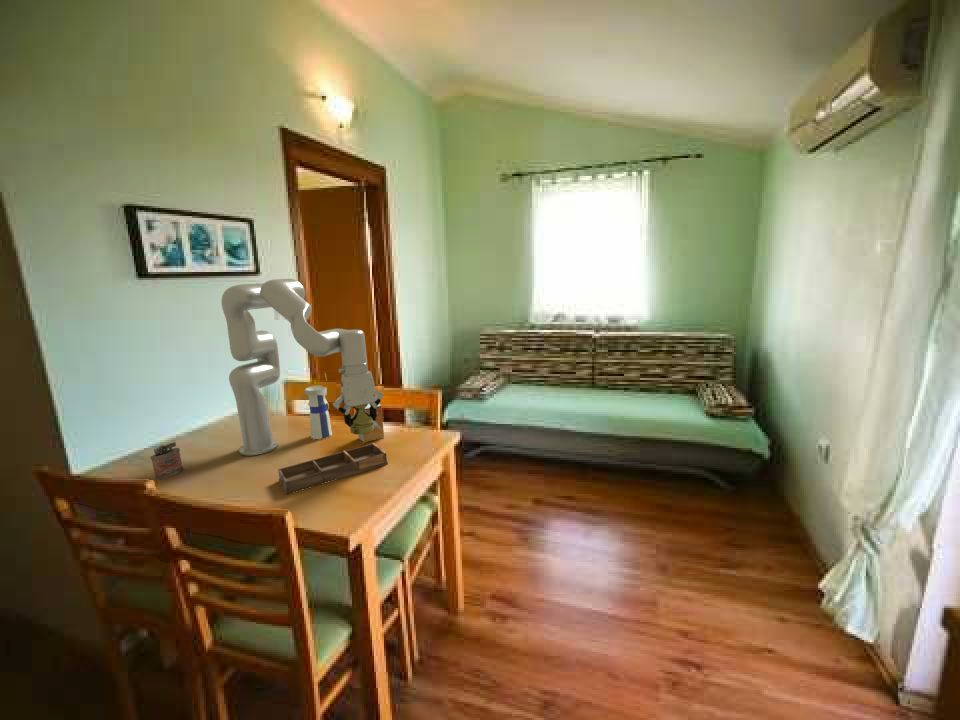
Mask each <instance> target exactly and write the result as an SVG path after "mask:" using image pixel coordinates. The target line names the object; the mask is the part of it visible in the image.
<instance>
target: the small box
mask: <svg viewBox="0 0 960 720" xmlns="http://www.w3.org/2000/svg"><path fill="white" fill-rule="evenodd" d="M370 407H371V405H370V404H368V405H367V406H366V407H365V409H364V410H365V411H366V412H367V413H368V414H370V409H369V408H370ZM382 408H383V407H382V405H381V404H380V403H379V404H378V406H377V408H376V413H377V417H376V421H373V420H372V422H373V423H374V424H373V426H374V429H373V431H371V432H369V433H366V434H357V436H358V439H359V440H360V439H361V440H362V441H363V442H362V441H361V440H360V441H361V442H362V443H364V444H365V443H369V442H371V441H372V440H373V441H377V440H381V438H382V439H384V438H385V432H384V422H383V421H384V420H383V419H384V418H383V409H382ZM376 439H377V440H376ZM368 441H369V442H368Z"/></svg>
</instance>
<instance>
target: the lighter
mask: <svg viewBox="0 0 960 720" xmlns="http://www.w3.org/2000/svg"><path fill="white" fill-rule="evenodd" d="M180 451H181V450H180V448H179V447H177V444H176V442H170V443H167V444H165V445H164V444H160V445H159V446H158V447H156V448H153V452H154V454H153V455H151V456H150V460H151V462H152V467H153V472H154V480H162V479H166V478H168V477H172V476H174V475H176V474H178V473H180V472H183V471H184V466H183V463H182V458H181V453H180Z"/></svg>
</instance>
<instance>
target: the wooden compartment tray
mask: <svg viewBox="0 0 960 720" xmlns="http://www.w3.org/2000/svg"><path fill="white" fill-rule="evenodd" d="M388 464H389V461H388V460H387V452H386V451H385V450H384V449H382V448H381V447H380V446H379V445H378V444H376V443H374V442H371V443H369V444H366V445H363V446H358V447H355V448H352V449H347V450H345V449H344V450H342V451H340V452H336V453H333V454H328V455H325V456H322V457H317V458H315V459H310V460H307V461H303V462H299V463H295V464H293V465H289V466H284V467H282V468H278V469H277V471H278V482H279V483H280V485H282V486H281V487H282V489H283V491H284V490H285V491H284V492H286V493H285V494H286V495H287V494H289V495H291V494H290V493H292V494H294V493H293V492H295V493H297V492H296V491H298V492H300V491H299V490H302V489H305V490H307V489H306V488H308V489H310V488H309V487H311V488H314V487H313V486H315V487H317V486H316V485H318V486H320V485H319V484H321V485H323V484H322V483H325V482H328V481H331V482H333V481H332V480H334V481H336V480H335V479H338V480H339V478H341V479H343V478H342V477H344V478H347V477H350V475H351V476H353V474H354V475H356V473H357V474H360V473H364V472H367V471H369V470H373V469H376V468H379V467H382V466H386V465H388ZM366 470H367V471H366ZM363 471H364V472H363ZM359 472H360V473H359ZM346 476H347V477H346ZM328 483H329V482H328ZM325 484H326V483H325ZM302 491H303V490H302Z"/></svg>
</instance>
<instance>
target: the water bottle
mask: <svg viewBox="0 0 960 720" xmlns="http://www.w3.org/2000/svg"><path fill="white" fill-rule="evenodd" d="M324 377H325V381H326V382H327V381H328V378H327V373H324ZM327 390H328V388H327V387H324V386H323V385H321V384H320V385H311V386H308V387H306V388H305V389H304V395H307V396H308V404H307V406H308V407H309V426H310V438H311V439H312V438H314V439H313V440H315V439H319V440H322V439H321V438H325V439H327V438H326V437H328V438H330V437H331V436H332V435H333V432H332V425H331V418H330V413H329V409H330V404H329V403H328V401H327V399H326V396H327ZM330 435H331V436H330ZM329 436H330V437H329Z"/></svg>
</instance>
